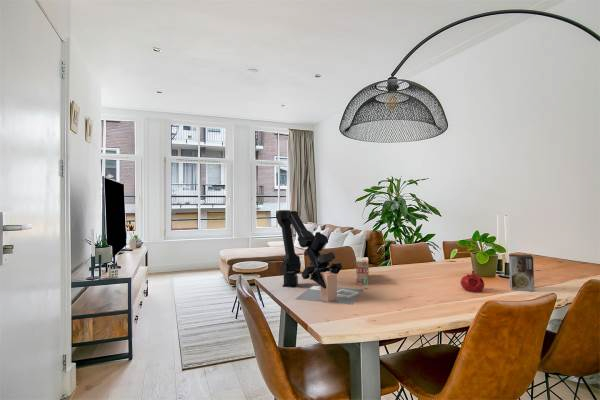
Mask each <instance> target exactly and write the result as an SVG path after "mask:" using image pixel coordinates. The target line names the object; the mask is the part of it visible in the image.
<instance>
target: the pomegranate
mask: <svg viewBox="0 0 600 400" xmlns="http://www.w3.org/2000/svg"><path fill="white" fill-rule="evenodd" d="M474 273H475V270H471V273H470V272H468V273H467V272H466V273H465V275H464V276H462V278H461V280H460V285H461V287H462V289H463V290H465V291H467V292H471V293H478V292H479V293H481V292H482V291H483V290H484V288H485V283H484V280H483V278H482V276H480V275H479V273H475V274H474Z"/></svg>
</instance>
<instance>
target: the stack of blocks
mask: <svg viewBox="0 0 600 400" xmlns="http://www.w3.org/2000/svg"><path fill="white" fill-rule="evenodd" d="M355 262H356V263H355V267H356V268H355V269H356V271H355V273H356V285H359V286H369V285H370V284H369V283H370V282H369V280H370V279H369V277H370V276H369V273H370V272H369V268H370V267H369V257H367V256H366V257H364V256H363V257H362V256H361V257H359V256H358V257H356V261H355Z"/></svg>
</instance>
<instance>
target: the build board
mask: <svg viewBox="0 0 600 400" xmlns="http://www.w3.org/2000/svg"><path fill="white" fill-rule="evenodd" d="M363 291H364V289H363V288H357V287H356V288H355V287H354V288H353V287H342V286H341V287H339V286H337V300H334V301H329V302H327V301H324V300H322V299H321V285H313V284H312V285H311V286H309V288H307V289H306V290H305V291H303V292H302V293H301V294H299V295H298V296H297V297H296V298H295V300H299V301H309V302H320V303H329V304H330V303H332V304H343V305H352V306H353V304H354V303H355V302H356V300H357V299H358V297H359V296H360V294H361V292H363Z"/></svg>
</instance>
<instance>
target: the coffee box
mask: <svg viewBox="0 0 600 400" xmlns="http://www.w3.org/2000/svg"><path fill="white" fill-rule="evenodd" d="M508 267H509V272H508V273H509V287H510V289H511V290H513V291H520V292H521V291H524V292H535V273H534V271H535V270H534V269H535V268H534V267H535V266H534V257H533V256H532V254H514V253H509V254H508Z"/></svg>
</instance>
